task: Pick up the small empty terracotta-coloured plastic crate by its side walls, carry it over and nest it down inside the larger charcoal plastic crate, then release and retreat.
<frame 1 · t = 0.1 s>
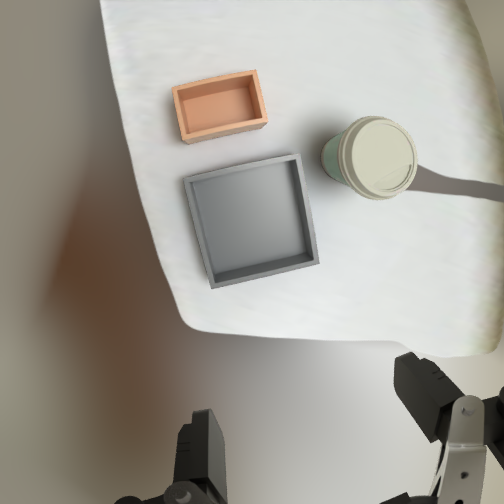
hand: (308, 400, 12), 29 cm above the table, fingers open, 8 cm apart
big crate: (251, 216, 39), on the table
coffee cup: (341, 158, 38), on the table
small crate: (219, 112, 35), on the table
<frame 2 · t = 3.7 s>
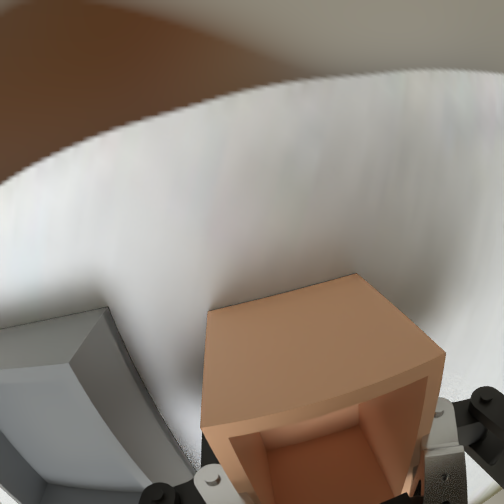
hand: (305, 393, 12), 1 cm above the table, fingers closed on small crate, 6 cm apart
big crate: (63, 427, 13), on the table
small crate: (301, 380, 13), on the table, touching gripper
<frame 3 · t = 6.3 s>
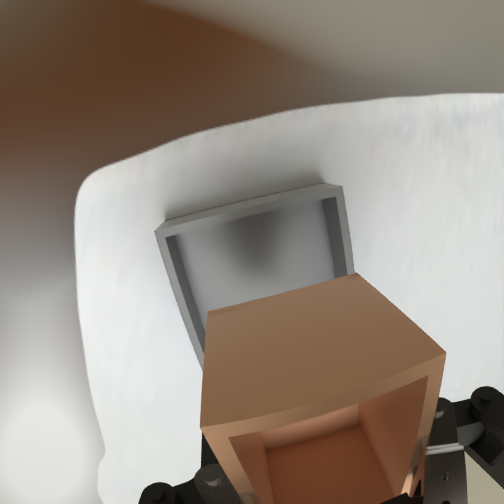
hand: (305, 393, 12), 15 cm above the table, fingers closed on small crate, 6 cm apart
big crate: (263, 277, 26), on the table
small crate: (301, 379, 13), point 14 cm above the table, touching gripper
when the fingers open (3 cm above the table, at t = 9.3 s): small crate drops 1 cm, resting on big crate.
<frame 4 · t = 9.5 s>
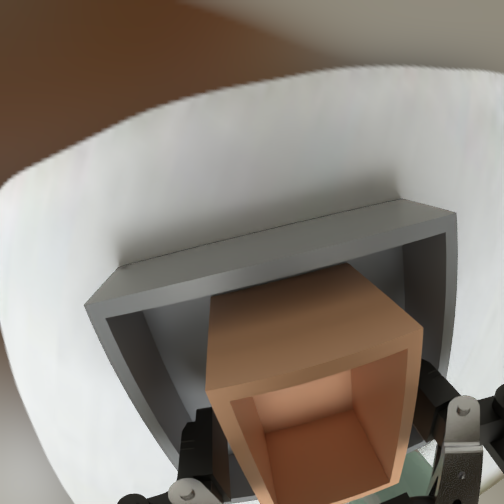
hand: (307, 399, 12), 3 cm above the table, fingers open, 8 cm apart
big crate: (292, 357, 15), on the table
coffee cup: (376, 458, 19), on the table
small crate: (297, 363, 14), point 1 cm above the table, touching big crate
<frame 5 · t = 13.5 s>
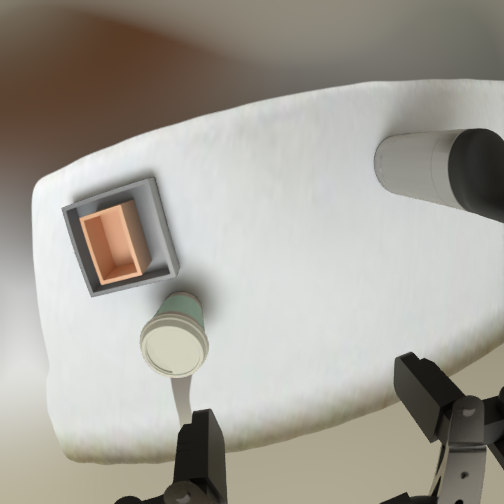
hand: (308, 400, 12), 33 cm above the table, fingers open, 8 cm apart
big crate: (124, 235, 42), on the table
coffee cup: (182, 308, 46), on the table
small crate: (123, 235, 41), point 1 cm above the table, touching big crate
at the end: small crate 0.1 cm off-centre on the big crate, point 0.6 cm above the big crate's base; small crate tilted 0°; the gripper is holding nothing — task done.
